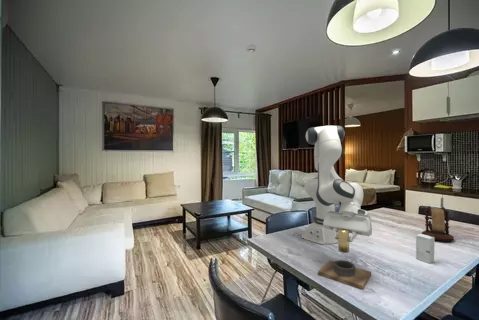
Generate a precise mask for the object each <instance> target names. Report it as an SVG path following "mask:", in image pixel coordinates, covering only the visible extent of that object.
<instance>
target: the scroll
mask: <svg viewBox="0 0 479 320" xmlns="http://www.w3.org/2000/svg"><path fill="white" fill-rule="evenodd" d="M424 212H425V216H424V219H425V224H424V225H425V230H423V231H422V232H421V234H424V235H428V236H431V237H434V238H435V240H437V241H443V242H444V241H445V242H449V243H452V241H454V239H455V238H454V235H451V233H450V229H449V228H450V225H449V224H450V223H449V222H450V218H449V213H450V211H449V210H447V209H446V208H445V207H444V206H442V207H441V209H440V208H431V205H428V206H427V208H425V209H424Z"/></svg>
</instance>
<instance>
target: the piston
mask: <svg viewBox="0 0 479 320" xmlns="http://www.w3.org/2000/svg"><path fill="white" fill-rule="evenodd" d="M337 234H338V242H337V245H338V247H337V248H338V252H340V253H346V254H348V253H350V242H349V241H348V237H350V233H349V230H346V229H338V233H337Z"/></svg>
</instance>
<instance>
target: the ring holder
mask: <svg viewBox="0 0 479 320" xmlns="http://www.w3.org/2000/svg"><path fill="white" fill-rule="evenodd" d="M317 275H318V276H322V277H325V278H326V279H327V278H328V279H329V280H334V281H336V282H340V283H342V284H345V285H347V286H351V287H354V288H357V289H360V290H364V288H365V287H366V285H367V284H368V282H369V280H370V278H371V276H372V271H369V270H366V269H363V268H359V267H356V265H355V263H352V262H351V261H347V260H342V259H341V260H340V259H339V260H335V261H334V260H331V259H329V260H328V261H327V262H326V263H325V264H324V265H323V266H321V267H320V269H319V270H318V271H317Z"/></svg>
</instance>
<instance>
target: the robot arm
mask: <svg viewBox="0 0 479 320" xmlns="http://www.w3.org/2000/svg"><path fill="white" fill-rule="evenodd" d="M345 133H346V132H345V129H344V127H343V126H341V125H337V124H336V125H324V126H322V125H321V126H316V127H315V126H312V127H309V128H308V129H307V130H306V132H305V139H306V142H307V144H309V145H314V149H313V150H314V151H313V153H314V154H313V158H314V161H313V162H314V168H315V170H316V171H317V178H311V179H307V180H306V181H305V182H304V186H303V188H304V191H305V193H306V194H307V195H308V196H309V197H310V198H312V200H313V202H314V204H315V207H316V208H315V210H316V215H315V216H314V217H313V219H312V221H313V222H312V223H310V224H309V225H307V226H306V227H305V231H304V233H302V234H301V239H303V238H304V239H303V240H307V241H311V242H313V243H316V244H319V245H327V244H328V245H329V244H330V245H332V244H338V229H346V230H349V234H351V236H349V237H348V241H349V243H353V242H354V240H355V238H357V236H358V235H359V236H363V237H371V236H372V235H373V226H372V223H371V222H372V218H371V216H370V213H369V212H368V211H367V210H364V209H361V206H362V204H363V200H364V190H363V187H362V186H361V185H360V184H359V183H356V182H348V181H345V180H344V179H342V178H341V177H340V176H339V175H338V173H337V172H336V170H335V167H334V165H335V164H336V163H337V161H338V160H339V159H340V157H341V155H342V151H343V149H342V148H343V147H342V144H341V143H342V142H343V141H344V138H345ZM337 202H340V207H339V210H338V211H336V206H335V203H337Z"/></svg>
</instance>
